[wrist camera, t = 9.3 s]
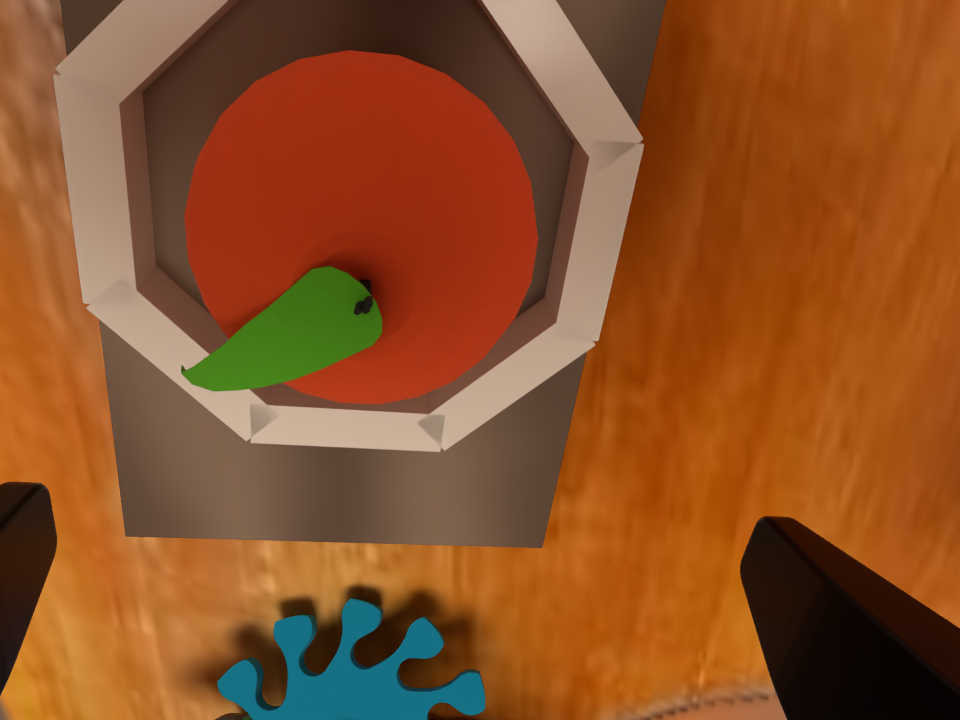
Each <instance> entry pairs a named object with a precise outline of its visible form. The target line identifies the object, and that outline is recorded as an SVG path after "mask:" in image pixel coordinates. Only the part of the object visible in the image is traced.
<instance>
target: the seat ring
mask: <svg viewBox="0 0 960 720" xmlns="http://www.w3.org/2000/svg"><path fill="white" fill-rule="evenodd" d="M238 1H239V0H123V1H122V2H121V3H120V4H119V5H118V6H117V7H116V8H115V9H114V10H113V11H112V12H111V13H110V14H109V15H108V16H107V17H106V18H105V19H104V20H103V21H102V22H101V23H100V24H99V25H98V26H97V27H96V28H95V29H94V30H93V31H92V32H91V33H90V34H89V35H88V36H87V37H86V38H85V39H84V40H83V41H82V42H81V43H80V44H79V45H78V46H77V47H76V48H75V49H74V50H73V51H72V52H71V53H70V54H69V55H68V56H67V57H66V58H65V59H64V60H63V61H62V62H61V63H60V64H59V65H58V66H57V67H56V68H55V69H56V70H57V71H58V72H59V73H56V74H53V79H54V86H55V94H56V101H57V109H58V117H59V124H60V132H61V139H62V147H63V155H64V162H65V170H66V177H67V185H68V193H69V200H70V208H71V215H72V223H73V231H74V238H75V246H76V253H77V261H78V269H79V276H80V284H81V291H82V299H83V303H85V304H89V305H88V306H87V307H86V309H88V310H89V311H90V312H91V313H92V314H94V315H95V316H96V317H97V318H98V319H100V320H101V321H102V322H103V323H104V324H106V325H107V326H108V327H109V328H110V329H112V330H113V331H114V332H115V333H116V334H118V335H119V336H120V337H121V338H122V339H124V340H125V341H126V342H127V343H128V344H130V345H131V346H132V347H133V348H135V349H136V350H137V351H138V352H139V353H141V354H142V355H143V356H144V357H145V358H147V359H148V360H149V361H150V362H151V363H153V364H154V365H155V366H156V367H157V368H159V369H160V370H161V371H162V372H163V373H165V374H166V375H167V376H168V377H169V378H171V379H172V380H173V381H174V382H175V383H177V384H178V385H179V386H180V387H181V388H183V389H184V390H185V391H186V392H187V393H189V394H190V395H191V396H192V397H193V398H195V399H196V400H197V401H198V402H199V403H201V404H202V405H203V406H204V407H206V408H207V409H208V410H209V411H210V412H212V413H213V414H214V415H215V416H216V417H218V418H219V419H220V420H221V421H222V422H224V423H225V424H226V425H227V426H228V427H230V428H231V429H232V430H233V431H234V432H236V433H237V434H238V435H239V436H240V437H242V438H243V439H244V440H245V441H247V440H249V439H250V438H251V443H261V444H282V445H303V446H324V447H345V448H366V449H387V450H408V451H429V452H440V450H441V448H442V449H443V450H444V451H445V450H447V449H448V448H449V447H451V446H452V445H454V444H455V443H457V442H458V441H459V440H461V439H462V438H464V437H465V436H467V435H468V434H469V433H471V432H472V431H474V430H475V429H477V428H478V427H479V426H481V425H482V424H484V423H485V422H487V421H488V420H489V419H491V418H492V417H494V416H495V415H497V414H498V413H499V412H501V411H502V410H504V409H505V408H507V407H508V406H509V405H511V404H512V403H514V402H515V401H517V400H518V399H519V398H521V397H522V396H524V395H525V394H527V393H528V392H529V391H531V390H532V389H534V388H535V387H537V386H538V385H539V384H541V383H542V382H544V381H545V380H547V379H548V378H549V377H551V376H552V375H554V374H555V373H557V372H558V371H559V370H561V369H562V368H564V367H565V366H567V365H568V364H569V363H571V362H572V361H574V360H575V359H577V358H578V357H579V356H581V355H582V354H584V353H585V352H587V351H588V350H590V349H591V348H592V347H594V346H595V343H594V341H599V337H600V333H601V328H602V324H603V320H604V316H605V311H606V307H607V303H608V298H609V294H610V290H611V286H612V281H613V277H614V273H615V268H616V264H617V260H618V256H619V251H620V247H621V243H622V238H623V234H624V230H625V226H626V221H627V217H628V213H629V208H630V204H631V200H632V196H633V191H634V187H635V183H636V178H637V174H638V170H639V166H640V161H641V157H642V153H643V148H644V144H643V143H642V142H640V141H642V140H643V137H642V136H641V134H640V132H639V131H638V129H637V128H636V126H635V125H634V123H633V121H632V120H631V118H630V117H629V115H628V113H627V112H626V110H625V109H624V107H623V106H622V104H621V102H620V101H619V99H618V98H617V96H616V94H615V93H614V91H613V90H612V88H611V87H610V85H609V83H608V82H607V80H606V79H605V77H604V76H603V74H602V72H601V71H600V69H599V68H598V66H597V64H596V63H595V61H594V60H593V58H592V57H591V55H590V53H589V52H588V50H587V49H586V47H585V46H584V44H583V42H582V41H581V39H580V38H579V36H578V34H577V33H576V31H575V30H574V28H573V27H572V25H571V23H570V22H569V20H568V19H567V17H566V16H565V14H564V12H563V11H562V9H561V8H560V6H559V4H558V3H557V1H556V0H477V2H478V3H479V5H480V6H481V8H482V9H483V10H484V12H485V13H486V15H487V16H488V18H489V19H490V21H491V22H492V24H493V25H494V26H495V28H496V29H497V31H498V32H499V34H500V35H501V37H502V38H503V40H504V41H505V42H506V44H507V45H508V47H509V48H510V50H511V51H512V53H513V54H514V56H515V57H516V59H517V60H518V61H519V63H520V64H521V66H522V67H523V69H524V70H525V72H526V73H527V75H528V76H529V77H530V79H531V80H532V82H533V83H534V85H535V86H536V88H537V89H538V91H539V92H540V93H541V95H542V96H543V98H544V99H545V101H546V102H547V104H548V105H549V107H550V108H551V109H552V111H553V112H554V114H555V115H556V117H557V118H558V120H559V121H560V123H561V124H562V125H563V127H564V128H565V130H566V131H567V133H568V134H569V136H570V137H571V139H572V140H573V141H574V145H573V150H572V156H571V161H570V166H569V172H568V177H567V182H566V187H565V193H564V198H563V203H562V209H561V214H560V219H559V225H558V230H557V235H556V240H555V246H554V251H553V256H552V262H551V267H550V272H549V277H548V283H547V288H546V293H545V297H544V298H543V299H542V300H540V301H539V302H538V303H536V304H535V305H533V306H532V307H531V308H529V309H528V310H527V311H525V312H524V313H522V314H521V315H520V316H518V317H517V318H516V319H514V320H513V322H512V323H511V324H510V325H509V327H508V328H507V329H506V331H505V332H504V333H503V334H502V336H501V337H500V338H499V339H498V341H497V342H496V343H495V344H494V346H493V347H492V348H491V349H490V351H489V352H488V353H487V354H486V356H485V357H484V358H483V359H482V360H481V361H479V362H478V363H477V364H476V365H474V366H473V367H472V368H470V369H469V370H468V371H466V372H465V373H464V374H462V375H461V376H460V377H458V378H457V379H456V380H454V381H453V382H451V383H449V384H447V385H444V386H442V387H440V388H437V389H435V390H433V391H431V392H428V393H426V394H424V395H421V396H419V397H416V398H410V399H405V400H400V401H394V402H389V403H384V404H358V403H339V402H335V401H331V400H327V399H324V398H320V397H316V396H312V395H308V394H304V393H301V392H299V391H297V390H295V389H293V388H292V387H290V386H288V385H286V384H284V383H278V384H274V385H270V386H266V387H261V388H253V389H246V390H238V391H217V392H213V391H210V390H207V389H204V388H201V387H198V386H195V385H192V384H191V383H190V382H189V381H188V380H187V379H186V378H185V377H184V376H183V375H182V374H181V366H182V365H183V366H184V368H185V369H186V370H187V369H189V368H191V367H193V366H195V365H196V364H197V363H199V362H200V361H201V360H203V359H204V358H206V357H207V356H208V355H210V354H211V353H212V352H214V351H215V350H216V349H218V348H219V347H221V346H222V345H223V344H225V343H226V342H227V341H228V340H229V339H228V337H227V336H226V334H225V333H224V332H223V330H222V329H221V327H220V326H219V325H218V323H217V322H216V320H215V319H214V318H213V317H212V316H211V315H210V314H209V313H208V312H207V311H206V310H205V309H204V308H203V307H201V306H200V305H199V304H198V303H197V302H196V301H195V300H194V299H193V298H192V297H190V296H189V295H188V294H187V293H186V292H185V291H184V290H183V289H182V288H181V287H179V286H178V285H177V284H176V283H175V282H174V281H173V280H172V279H171V278H169V277H168V276H167V275H166V274H165V273H164V272H163V271H162V270H161V269H160V268H158V267H157V266H156V259H155V246H154V234H153V221H152V208H151V195H150V183H149V170H148V157H147V145H146V132H145V119H144V107H143V94H142V92H143V91H144V90H145V89H146V88H147V87H148V86H149V85H150V84H151V83H152V82H153V81H154V80H155V79H156V78H158V77H159V76H160V75H161V74H162V73H163V72H164V71H165V70H166V69H167V68H168V67H169V66H170V65H171V64H172V63H173V62H174V61H176V60H177V59H178V58H179V57H180V56H181V55H182V54H183V53H184V52H185V51H186V50H187V49H188V48H189V47H190V46H191V45H192V44H193V43H195V42H196V41H197V40H198V39H199V38H200V37H201V36H202V35H203V34H204V33H205V32H206V31H207V30H208V29H209V28H210V27H211V26H212V25H214V24H215V23H216V22H217V21H218V20H219V19H220V18H221V17H222V16H223V15H224V14H225V13H226V12H227V11H228V10H229V9H230V8H231V7H233V6H234V5H235V4H236V3H237V2H238Z"/></svg>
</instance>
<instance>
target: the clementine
mask: <svg viewBox="0 0 960 720" xmlns="http://www.w3.org/2000/svg"><path fill="white" fill-rule="evenodd" d="M184 218H185V229H186V241H187V252H188V261H189V264H190V266H191V269H192V272H193V274H194V277H195V279H196V282H197V285H198V287H199V290H200V293H201V295H202V298H203V301H204V303H205V304H206V306H207V308H208V310H209V311H210V313H211V315H212V316H213V318H214V319H215V320H216V322H217V323H218V325H219V326H220V327H221V329H222V330H223V332H224V333H225V334H226V336H227V337H228V339H229V340H228V341H227V342H226V343H225V344H223V345H222V346H221V347H219V348H218V349H216V350H215V351H214V352H212V353H211V354H210V355H208V356H207V357H206V358H204V359H203V360H201V361H200V362H199V363H197V364H196V365H195V366H193V367H191V368H189V369H187V370H186V369H185V368H184V366H183V365H182V366H181V374H182V375H183V376H184V377H185V378H186V379H187V380H188V381H189V382H190V383H191V384H192V385H195V386H198V387H201V388H204V389H207V390H210V391H213V392H217V391H238V390H246V389H253V388H261V387H266V386H270V385H274V384H278V383H284V384H286V385H288V386H290V387H292V388H293V389H295V390H297V391H299V392H301V393H304V394H308V395H312V396H316V397H320V398H324V399H327V400H331V401H335V402H339V403H358V404H384V403H389V402H394V401H400V400H405V399H410V398H416V397H419V396H421V395H424V394H426V393H428V392H431V391H433V390H435V389H437V388H440V387H442V386H444V385H447V384H449V383H451V382H453V381H454V380H456V379H457V378H458V377H460V376H461V375H462V374H464V373H465V372H466V371H468V370H469V369H470V368H472V367H473V366H474V365H476V364H477V363H478V362H479V361H481V360H482V359H483V358H484V357H485V356H486V354H487V353H488V352H489V351H490V349H491V348H492V347H493V346H494V344H495V343H496V342H497V341H498V339H499V338H500V337H501V336H502V334H503V333H504V332H505V331H506V329H507V328H508V327H509V325H510V324H511V323H512V322H513V320H514V319H515V318H516V315H517V313H518V311H519V309H520V306H521V304H522V302H523V300H524V297H525V295H526V293H527V290H528V288H529V286H530V284H531V281H532V276H533V270H534V263H535V256H536V250H537V243H538V235H537V227H536V219H535V210H534V202H533V194H532V186H531V181H530V178H529V176H528V173H527V171H526V169H525V166H524V164H523V161H522V159H521V156H520V154H519V152H518V149H517V147H516V144H515V142H514V140H513V139H512V137H511V136H510V135H509V133H508V132H507V131H506V130H505V128H504V127H503V126H502V124H501V123H500V122H499V120H498V119H497V118H496V117H495V115H494V114H493V113H492V111H491V110H490V109H489V108H488V106H487V105H486V104H485V103H484V102H483V101H482V100H480V99H479V98H478V97H476V96H475V95H474V94H472V93H471V92H470V91H468V90H467V89H466V88H464V87H463V86H462V85H460V84H459V83H458V82H456V81H455V80H454V79H452V78H451V77H450V76H448V75H447V74H445V73H443V72H440V71H438V70H435V69H433V68H430V67H428V66H425V65H423V64H420V63H417V62H415V61H412V60H410V59H407V58H405V57H402V56H400V55H391V54H381V53H372V52H362V51H352V50H347V51H342V52H336V53H331V54H325V55H320V56H314V57H308V58H303V59H299V60H297V61H295V62H293V63H291V64H289V65H287V66H285V67H283V68H281V69H279V70H277V71H275V72H273V73H271V74H269V75H267V76H265V77H263V78H261V79H259V80H257V81H255V82H254V83H253V84H252V85H251V86H250V87H249V88H248V89H247V90H246V91H245V92H244V93H243V94H242V95H241V96H240V97H239V98H238V99H237V100H236V101H235V102H234V103H233V104H231V105H230V106H229V107H228V108H227V109H226V110H225V111H224V112H223V113H222V114H221V115H220V117H219V119H218V121H217V123H216V125H215V126H214V128H213V130H212V132H211V134H210V135H209V137H208V139H207V141H206V143H205V145H204V146H203V148H202V150H201V152H200V154H199V156H198V159H197V162H196V165H195V168H194V171H193V175H192V180H191V185H190V190H189V195H188V200H187V205H186V209H185V214H184Z"/></svg>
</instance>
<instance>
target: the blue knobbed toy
mask: <svg viewBox="0 0 960 720" xmlns="http://www.w3.org/2000/svg"><path fill="white" fill-rule="evenodd" d="M382 617H383V609H381V608H380V607H379V606H378V605H376V604H374V603H372V602H369V601H366V600H362V599H357V598H352V599H350V600H349V601H348V602H347V603H346V604H345V606H344V608H343V611H342V624H343V629H342V638H341V643H340V646H339V648H338V651H337V653H336V655H335V657H334V658H333V660H332V661H331V663H330V665H329V666H328V668H327V669H326V670H325V671H324V672H323V673H313V672H311V671H310V670H308V668H307V667H306V665H305V662H304V655H305V652H306V650H307V648H308V647H309V645H310V644H311V642H312V641H313V639H314V637H315V635H316V632H317V622H316V619H315V617H314V616H313V615H310V614H302V615H296V616H292V617H288V618H285V619H282V620H279V621H276V623H275V625H274V631H273V632H274V638H275V640H276V642H277V644H278V645H279V647H280V648H281V650H282V652H283V654H284V656H285V660H286V663H287V669H288V684H287V692H286V698H285V700H284V702H283V704H282V705H281V706H271V705H269V704H267V703H266V702H265V700H264V698H263V696H262V686H263V678H264V672H263V668H262V665H261V664H260V662H259V661H258V660H257V659H255V658H253V657H250V658H247V659H245V660H243V661H240V662H238V663H237V664H235V665H234V666H232V667H231V668H230V669H229V670H228V671H227V672H226V673H225V674H224V675H223V676H222V677H221V678H220V679H219V680H218V682H217V683H218V689H219V691H220V693H221V694H222V696H223V697H225V698H226V699H228V700H230V701H233V702H235V703H237V704H238V705H240V706H241V707H242V708H243V709H244V710H245V711H246V712H248V714H238V713H229V714H225V715H222V716H220V717H219V718H217V719H215V720H429V719H428V712H429V710H430V708H431V707H432V706H433V705H435V704H437V703H442V702H444V703H448V704H450V705H452V706H453V707H454V708H456V709H457V710H458V711H460V712H462V713H463V714H466V715H476V714H479V713H481V712H482V711H483V710H485V692H484V686H483V682H482V679H481V675H480V672H479V671H477V670H472V669H469V670H465V671H463V672H461V673H460V674H459V675H458V676H457V677H455V678H454V679H453V680H451V681H450V682H448V683H446V684H444V685H441V686H438V687H433V688H412V687H408V686H406V685H405V684H404V683H403V682H402V681H401V679H400V677H399V667H400V664H401V663H402V662H403V661H404V660H406V659H409V658H421V659H427V658H431V657H434V656H435V655H437V654H438V653H439V652H440V651H441V649H442V647H443V645H444V642H445V641H444V639H443V636H442V634H441V633H440V631H439V630H438V628H437V627H436V626H435V625H434V624H433V623H432V622H431V621H430V620H429V619H428V618H427V617H426V616H424V617H420V618H419V619H417V620H415V621H414V622H413V623H412V624H411V625H410V627H409V629H408V631H407V634H406V636H405V639H404V640H403V642H402V644H401V645H400V647H399V648H398V649H397V650H396V652H394V653H393V654H392V655H391V656H389V657H388V658H386V659H385V660H383V661H381V662H379V663H377V664H376V665H373V666H369V667H366V666H363V665H361V664H359V663H358V662H357V661H356V659H355V657H354V647H355V644H356V642H357V641H358V640H359V639H360V638H361V637H363V636H365V635H367V634H369V633H370V632H372V631H374V630H375V629H376V628H377V627H378V626H379V625H380V623H381V621H382Z"/></svg>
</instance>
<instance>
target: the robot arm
mask: <svg viewBox="0 0 960 720" xmlns="http://www.w3.org/2000/svg"><path fill="white" fill-rule="evenodd" d="M56 547H57V534H56V528H55V522H54V517H53V511H52V505H51V499H50V494H49V491H48V489H47V487H46V486H45V485H43V484H41V483H32V482H6V483H3V484H1V485H0V695H1V693H2V691H3V689H4V687H5V685H6V683H7V680H8V678H9V676H10V674H11V671H12V669H13V666H14V664H15V661H16V659H17V656H18V653H19V651H20V648H21V645H22V643H23V640H24V637H25V635H26V632H27V629H28V627H29V624H30V621H31V618H32V616H33V613H34V610H35V608H36V605H37V602H38V600H39V597H40V594H41V592H42V589H43V586H44V584H45V581H46V578H47V575H48V573H49V570H50V567H51V565H52V562H53V559H54V556H55V552H56ZM740 575H741V580H742V584H743V587H744V591H745V594H746V597H747V601H748V604H749V607H750V611H751V614H752V617H753V621H754V624H755V627H756V631H757V634H758V637H759V641H760V644H761V648H762V651H763V654H764V658H765V661H766V664H767V668H768V671H769V674H770V677H771V680H772V682H773V685H774V688H775V690H776V693H777V696H778V698H779V701H780V703H781V706H782V708H783V711H784V713H785V716H786V718H787V720H960V628H958V627H957V626H955V625H954V624H952V623H951V622H949V621H948V620H946V619H945V618H943V617H942V616H940V615H939V614H937V613H936V612H934V611H933V610H931V609H930V608H928V607H927V606H925V605H923V604H922V603H920V602H919V601H917V600H916V599H914V598H913V597H911V596H910V595H908V594H907V593H905V592H904V591H902V590H901V589H899V588H898V587H896V586H895V585H893V584H892V583H890V582H889V581H887V580H886V579H884V578H883V577H881V576H880V575H878V574H877V573H875V572H874V571H872V570H871V569H869V568H868V567H866V566H865V565H863V564H861V563H860V562H858V561H857V560H855V559H854V558H852V557H851V556H849V555H848V554H846V553H845V552H843V551H842V550H840V549H839V548H837V547H836V546H834V545H833V544H831V543H830V542H828V541H827V540H825V539H824V538H822V537H821V536H819V535H818V534H816V533H815V532H813V531H812V530H810V529H809V528H807V527H806V526H804V525H803V524H801V523H799V522H798V521H796V520H795V519H793V518H790V517H776V516H765V517H762V518H760V519H759V520H758V521H757V523H756V525H755V527H754V530H753V532H752V535H751V537H750V540H749V542H748V545H747V547H746V550H745V552H744V555H743V557H742V560H741V565H740Z"/></svg>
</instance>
